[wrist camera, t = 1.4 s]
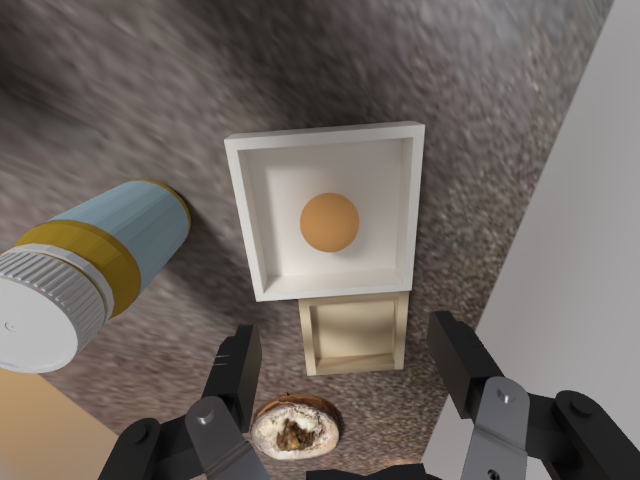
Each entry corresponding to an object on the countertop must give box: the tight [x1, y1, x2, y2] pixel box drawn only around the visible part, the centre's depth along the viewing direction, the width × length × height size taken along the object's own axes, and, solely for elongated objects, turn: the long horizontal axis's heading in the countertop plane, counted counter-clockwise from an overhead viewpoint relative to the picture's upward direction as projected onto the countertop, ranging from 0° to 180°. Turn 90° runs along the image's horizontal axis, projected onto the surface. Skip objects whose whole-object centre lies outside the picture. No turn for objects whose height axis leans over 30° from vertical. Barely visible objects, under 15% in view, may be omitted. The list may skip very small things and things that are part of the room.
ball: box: [300, 193, 359, 252], centre depth 25 cm, size 5×5×5 cm
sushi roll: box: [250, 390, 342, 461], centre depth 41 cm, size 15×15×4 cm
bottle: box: [0, 179, 191, 373], centre depth 21 cm, size 7×7×15 cm
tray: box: [298, 291, 409, 376], centre depth 33 cm, size 11×11×2 cm
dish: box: [224, 121, 425, 302], centre depth 27 cm, size 15×15×4 cm
